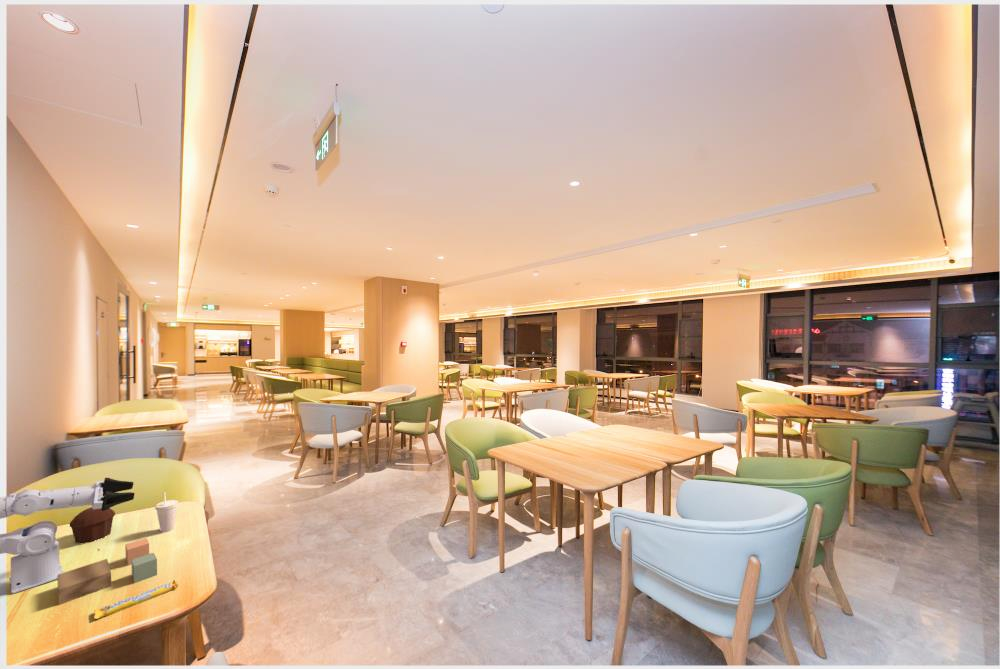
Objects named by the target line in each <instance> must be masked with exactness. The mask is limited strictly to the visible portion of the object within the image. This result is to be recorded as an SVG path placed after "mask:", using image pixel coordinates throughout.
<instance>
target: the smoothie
mask: <svg viewBox="0 0 1000 669" xmlns="http://www.w3.org/2000/svg"><path fill="white" fill-rule="evenodd" d="M178 505H179V501H178V499H169V500H167V498H166V491H163V501H161V502H158V503H157V504H156V505H155V508H154V509H155V510H156V514H157V519H158V524H159V528H160V532H161V533H168V532H171V531H172V530H174V529H175V524H176V515H177V508H178Z"/></svg>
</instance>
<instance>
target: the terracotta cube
mask: <svg viewBox="0 0 1000 669" xmlns="http://www.w3.org/2000/svg"><path fill="white" fill-rule="evenodd" d="M124 547H125V561H126V564H127V566H132V561H131V560H133V559H136V558H139V557H142V556H145V555H148V554H150V543H149V540H148V538H147V537H145V538H142V539H138V540H135V541H132V542H131V541H130V542H129V543H125V546H124Z"/></svg>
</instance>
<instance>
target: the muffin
mask: <svg viewBox="0 0 1000 669" xmlns="http://www.w3.org/2000/svg"><path fill="white" fill-rule="evenodd" d="M115 516H116V512H115V511H114V509H113V508H109V509H107V510H105V511H101V508H100V509H93V507H89V508H88V507H87V508H86V509H84V510H82V511H81V512H79V513H78V514H76V516H74V518H72V520H71V521H70V522H69V527H70V528H71V531H72V535H73V539H74V542H75V544H81V543H83V544H86V542H88V543H93V542H96V541H99V540H102V539H104V538H106V537H108V536H110V535H111V532H112V527H113V521H114V517H115ZM105 536H106V537H105ZM101 538H102V539H101ZM98 539H99V540H98ZM95 540H96V541H95Z"/></svg>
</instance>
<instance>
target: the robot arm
mask: <svg viewBox="0 0 1000 669" xmlns="http://www.w3.org/2000/svg"><path fill="white" fill-rule="evenodd" d="M133 487H134V481H128V480H127V481H126V480H119V479H118V480H117V479H114V478H110V477H105V478H104V480H96V481H94V485H82V486H75V487H74V486H72V487H64V488H54V489H53V488H52V489H47V490H38V489H35V488H32V489H23V490H21V491H19V492H18V493H16V492H12V493H10V494H9V495H6V496H1V497H0V520H1V519H5V518H9V517H12V516H14V515H20V516H23V517H26V516H31V515H32V514H34V513H37V512H40V511H48V510H49V511H51V510H58V509H59V510H60V509H67V508H76V507H84V506H92V507H93V509H100V508H101V511H105V510H107V509H109V508H110V509H112V507H115V506H118V505H120V504H124V503H126V502H129V501H130V502H131V501H132V500H133V501H134V498H135V492H131V491H130V492H128V491H129V490H132V489H133ZM124 491H127V492H124ZM57 531H58V526H57V523H54V522H53V521H50V520H41V521H38V522H36V523H34V524H32V525H30V526H26V527H21V528H17V529H15V530H13V531H10V532H6V533H0V555H2V554H9V555H12V557H10V577H9V586H10V592H11V593H10V594H13V595H14V594H17V593H20V592H22V591H25V590H28V589H31V588H34V587H38V586H40V585H43V584H47V583H49V582H53V581H56V580H58V574H61V573H63V568H62V565H60V541H57V540H56V534H57ZM13 555H14V556H13Z"/></svg>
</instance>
